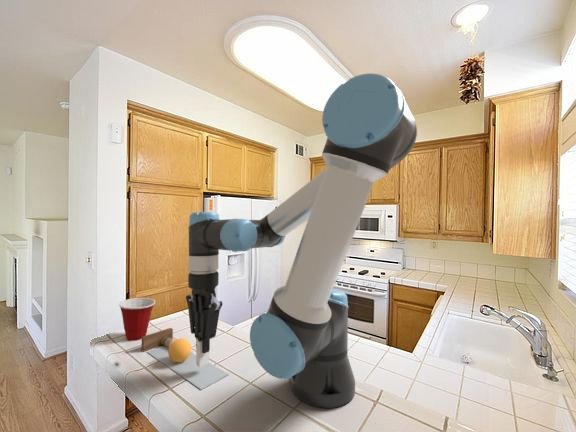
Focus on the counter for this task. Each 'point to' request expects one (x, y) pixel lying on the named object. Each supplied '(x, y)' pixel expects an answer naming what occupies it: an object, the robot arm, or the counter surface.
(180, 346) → the ball
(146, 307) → the plastic cup
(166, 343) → the pin
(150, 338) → the board
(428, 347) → the counter surface
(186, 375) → the lane mark
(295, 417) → the counter surface
